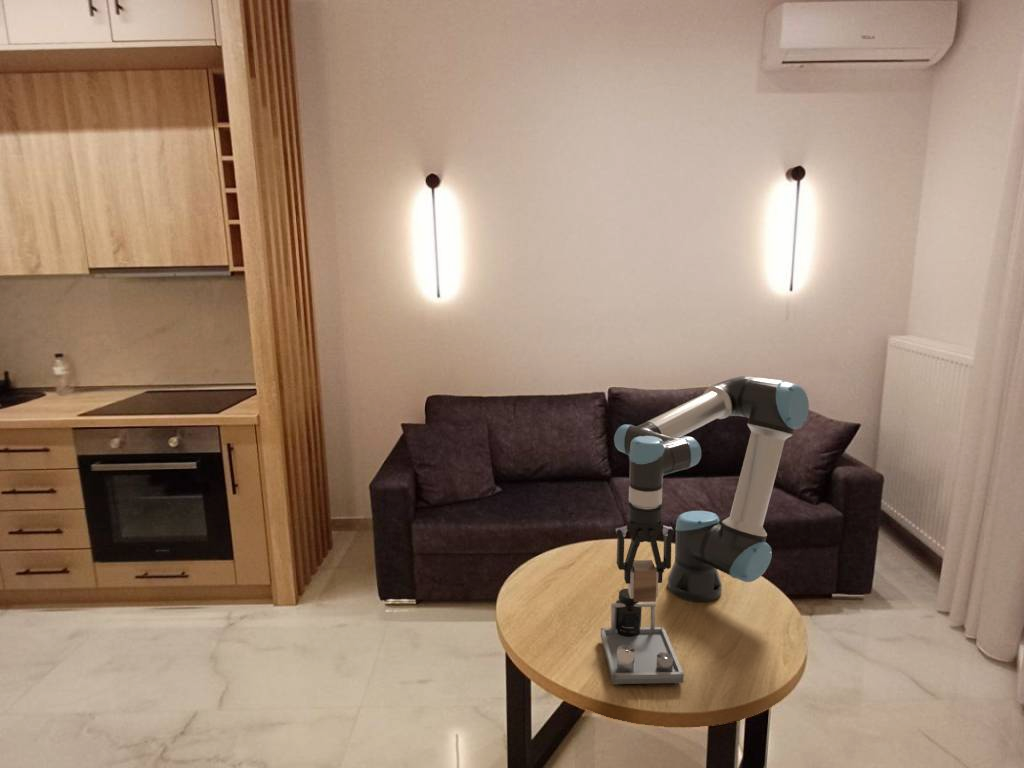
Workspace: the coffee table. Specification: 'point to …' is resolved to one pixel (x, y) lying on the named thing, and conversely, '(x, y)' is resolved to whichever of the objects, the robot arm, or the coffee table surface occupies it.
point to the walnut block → (644, 581)
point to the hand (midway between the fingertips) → (642, 594)
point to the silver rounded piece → (625, 659)
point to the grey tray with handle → (640, 652)
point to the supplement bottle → (627, 616)
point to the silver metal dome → (664, 662)
